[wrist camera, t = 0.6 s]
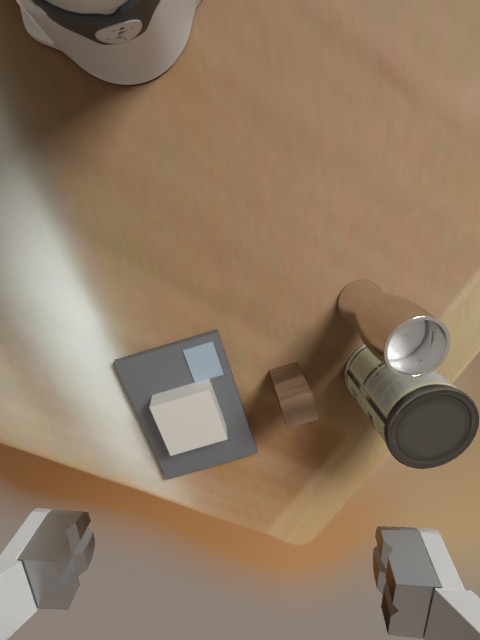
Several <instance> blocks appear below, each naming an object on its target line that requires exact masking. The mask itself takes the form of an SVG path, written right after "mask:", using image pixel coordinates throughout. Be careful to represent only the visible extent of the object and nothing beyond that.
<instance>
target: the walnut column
mask: <svg viewBox="0 0 480 640" xmlns="http://www.w3.org/2000/svg"><path fill="white" fill-rule="evenodd" d="M269 372H270V375H271V379H272V382H273V386H274V389H275V392H276V396H277V399H278V402H279V405H280V408H281V411H282V414H283V417H284V420H285V423H286V426H287V428H290V427H294V426H297V425H300V424H304V423H307V422H311V421H314V420H318V419H319V418H318V414H317V410H316V406H315V402H314V398H313V394H312V391H311V389H310V387H309V385H308V383H307V381H306V379H305V377H304V375H303V373H302V371H301V369H300V367H299V365H298V363H297V362H296V363H292V364H289V365H286V366H282V367H279V368H276V369H272V370H269Z"/></svg>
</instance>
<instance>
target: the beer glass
mask: <svg viewBox="0 0 480 640" xmlns="http://www.w3.org/2000/svg"><path fill="white" fill-rule="evenodd" d="M338 310H339V313H340V315H341V316H342V318H343V319H344V320H346V321H347V322H349V323H351V324H353V325H355V327H356V329H357V331H358V333H359V335H360V337H361V339H362V341H363V343H364V344H365V346H366V347H367V348H368V350H369V351H370V352H371V353H372V354H373V355H374V356H375V357H376V358H377V359H378V360H379V361H380V362H381V363H383V364H384V365H385V366H386V367H388V368H389V369H390V370H391V371H392V372H393V373H395V374H396V375H398V376H400V377H404V378H418V377H422V376H425V375H427V374H429V373H431V372H432V371H434V370H435V369H436V368H438V367H439V366H440V365H441V363H442V362H443V361H444V359H445V358H446V356H447V354H448V351H449V348H450V335H449V332H448V329H447V328H446V326H445V325H444V324H443V323H442V322H441V321H439V320H438V319H436V318H435V317H434V316H433V315H431V314H430V313H429V312H428V311H426V310H425V309H423V308H422V307H421V306H419V305H417V304H416V303H414V302H412V301H410V300H408V299H405V298H402V297H399V296H395V295H391V294H387V293H384V292H383V291H382V290H381V288H380V287H379V286H378V285H377V284H375V283H374V282H372V281H369V280H357V281H354V282H352V283H350V284H348V285H347V286H346V287H345V288H344V289H343V290H342V292H341V293H340V295H339V298H338Z"/></svg>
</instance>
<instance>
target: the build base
mask: <svg viewBox="0 0 480 640" xmlns="http://www.w3.org/2000/svg"><path fill="white" fill-rule="evenodd" d="M114 365H115V367H116V369H117V371H118V374H119V376H120V378H121V380H122V383H123V385H124V387H125V389H126V391H127V394H128V396H129V398H130V400H131V402H132V405H133V407H134V409H135V411H136V414H137V416H138V418H139V420H140V422H141V425H142V427H143V429H144V431H145V433H146V436H147V438H148V440H149V442H150V445H151V447H152V449H153V451H154V453H155V456H156V458H157V460H158V462H159V465H160V467H161V469H162V471H163V473H164V476H165V478H166V480H167V479H170V478H174V477H177V476H181V475H184V474H187V473H191V472H194V471H198V470H201V469H205V468H208V467H211V466H215V465H218V464H222V463H225V462H229V461H232V460H235V459H239V458H242V457H246V456H249V455H253V454H256V453H258V452H257V448H256V445H255V442H254V439H253V436H252V433H251V430H250V427H249V424H248V420H247V417H246V414H245V411H244V408H243V405H242V402H241V399H240V396H239V393H238V390H237V387H236V384H235V381H234V378H233V375H232V372H231V369H230V366H229V363H228V360H227V357H226V354H225V351H224V348H223V345H222V342H221V339H220V336H219V333H218V330H214V331H210V332H207V333H204V334H200V335H197V336H194V337H190V338H187V339H184V340H180V341H177V342H173V343H170V344H167V345H163V346H160V347H157V348H153V349H150V350H147V351H143V352H140V353H137V354H133V355H130V356H126V357H123V358H120V359H116V360H115V362H114Z"/></svg>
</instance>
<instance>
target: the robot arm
mask: <svg viewBox="0 0 480 640" xmlns="http://www.w3.org/2000/svg"><path fill="white" fill-rule="evenodd" d="M16 1H17V3H18V4H19V5H20V9H21V14H22V18H23V22H24V26H25V28H26V30H27V32H28V33H29V34H30V35H31V36H32V37H33V38H34V39H35V40H36V41H38V42H40V43H42V44H44V45H47V46H50V47H52V48H55V49H58V50H60V51H62V52H63V53H65V54H66V55H67V56H69V57H70V58H71V59H72V60H73V61H74V62H75V63H76V64H77V65H79V66H80V67H81V68H82V69H84V70H85V71H87V72H88V73H90V74H91V75H93V76H95V77H97V78H99V79H101V80H104V81H107V82H110V83H114V84H121V85H133V84H140V83H144V82H147V81H150V80H152V79H154V78H156V77H158V76H160V75H161V74H163V73H164V72H165V71H166V70H168V69H169V68H170V67H171V66H172V65H173V64H174V62H175V61H176V60H177V59H178V57H179V56H180V54H181V52H182V51H183V49H184V47H185V45H186V42H187V40H188V37H189V34H190V30H191V26H192V21H193V17H194V14H195V11H196V8H197V6H198V5H199V4H200V2H201V1H202V0H16ZM90 521H91V520H90V517H89V513H88V512H81V511H70V510H58V509H43V508H37V509H35V510H34V511H32V512H31V513H30V515H29V516H28V517H27V519H26V520H25V521H24V523H23V524H22V526H21V527H20V528H19V530H18V531H17V532H16V534H15V535H14V537H13V538H12V539H11V541H10V542H9V544H8V545H7V546H6V548H5V549H4V551H3V552H2V553H1V555H0V640H7V639H8V638H9V637H10V636H11V635H12V634H13V633H14V632H16V631H17V629H19V628H20V627H21V626H22V625H23V624H24V623H25V622H26V621H27V620H28V619H29V618H30V617H31V616H32V615H33V614H34V613H35V612H36V611H37V608H40V609H41V608H42V609H64V610H68V608H69V606H70V604H71V602H72V600H73V598H74V596H75V594H76V592H77V589H78V587H79V585H80V584H79V579H78V576H79V575H81V574H82V573H83V572H84V571H85V570H87V568H88V566H89V564H90V562H91V559H92V556H93V552H94V548H95V538H94V533H93V532H92V531H91V530H90V529H89V528H88V525H89V523H90ZM375 537H376V541H377V546H376V547H375V548H374V552H373V570H374V577H375V582H376V586H377V589H378V590H379V591H380V592H381V593H382V595H383V597H382V605H381V608H382V612H383V616H384V620H385V624H386V628H387V632H388V635H396V636H405V637H415V638H424V640H480V598H479V597H478V596H477V595H476V594H474V593H473V592H472V591H471V590H465V589H464V587H463V585H462V582H461V580H460V578H459V576H458V573H457V571H456V569H455V567H454V564H453V562H452V560H451V558H450V556H449V553H448V551H447V549H446V546H445V544H444V542H443V540H442V537H441V535H440V533H439V532H438V531H437V530H436V529H422V528H416V529H415V528H406V527H380V526H378V527H377V529H376V535H375Z"/></svg>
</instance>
